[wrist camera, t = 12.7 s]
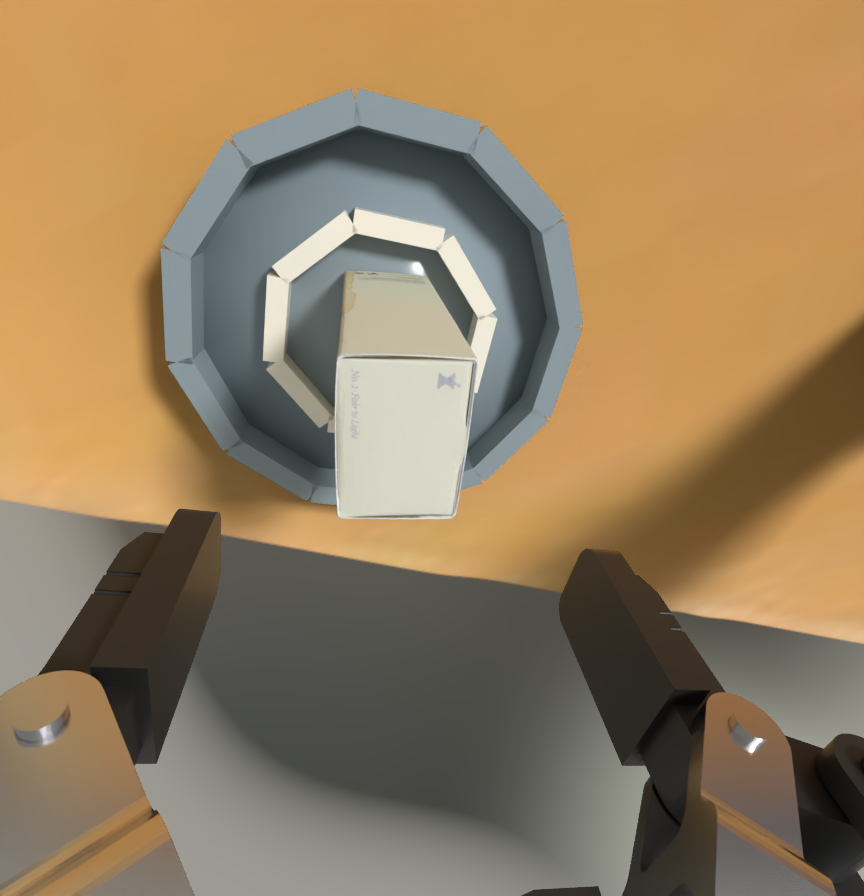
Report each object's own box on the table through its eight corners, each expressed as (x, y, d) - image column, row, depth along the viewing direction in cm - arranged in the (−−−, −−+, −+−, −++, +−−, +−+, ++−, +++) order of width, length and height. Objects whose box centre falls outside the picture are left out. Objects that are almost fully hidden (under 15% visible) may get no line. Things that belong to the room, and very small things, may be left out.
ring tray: (609, 165, 25) (640, 165, 22) (500, 493, 34) (513, 522, 31) (179, 49, 20) (150, 31, 18) (189, 459, 30) (171, 489, 27)
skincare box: (343, 268, 24) (329, 343, 14) (432, 275, 25) (483, 351, 14) (342, 386, 27) (330, 522, 17) (421, 389, 28) (457, 522, 17)
